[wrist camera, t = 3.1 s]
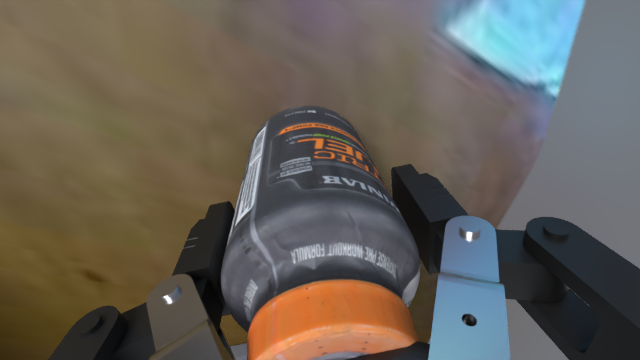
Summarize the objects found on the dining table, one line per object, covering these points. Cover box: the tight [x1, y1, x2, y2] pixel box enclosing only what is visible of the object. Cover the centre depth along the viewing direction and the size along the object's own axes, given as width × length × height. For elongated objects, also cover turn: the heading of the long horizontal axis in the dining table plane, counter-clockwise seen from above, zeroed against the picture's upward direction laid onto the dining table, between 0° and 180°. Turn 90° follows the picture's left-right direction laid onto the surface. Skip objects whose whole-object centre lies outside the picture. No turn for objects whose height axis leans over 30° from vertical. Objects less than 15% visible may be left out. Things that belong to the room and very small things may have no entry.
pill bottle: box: [221, 106, 420, 360], centre depth 11 cm, size 6×6×11 cm
